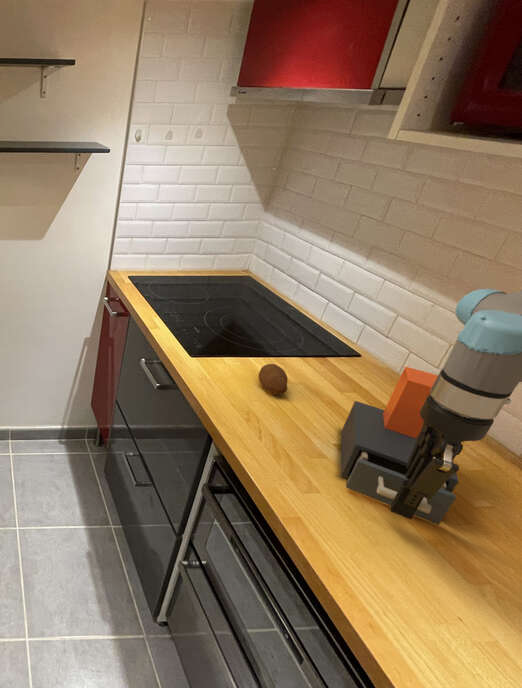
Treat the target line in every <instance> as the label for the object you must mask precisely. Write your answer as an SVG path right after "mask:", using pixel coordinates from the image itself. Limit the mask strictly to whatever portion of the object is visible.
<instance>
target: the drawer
mask: <svg viewBox="0 0 522 688" xmlns="http://www.w3.org/2000/svg"><path fill="white" fill-rule="evenodd" d="M407 471H408V469H406V466H404V465H402V464H399V463H396V462H393V461H390V460H388V459H385V458H382V457H379V456H377V455H374V454H371V453H368V452H366V451H363V450H360V451H359V453H358V455H357V457H356V459H355V461H354V463H353V465H352V467H351V474H350V477H349V479H347V481H346V483H345V488H346V489H348V490H351V491H354V492H356V493H358V494H360V495H363V496H365V497H368V498H370V499H373V500H376V501H378V502H380V503H382V504H385V505H388V506H390V505H391V503H392V502H393V500H394V498H395V496H396V494H397V493H398V491H399V489H400V487H401V485H402V481H403V480H407V478H406V476H405V474H406V473H407ZM445 489H446V483H444V484H443V486H442V487H441V488H440V489H439V490H438V492H437V493H436V494H435V495H434V496H433V497H432V499H431V500H430V499H427V498H423V500H422V501H421V503H420V505H419V507H418V508H417V510H416V512H415V513H414V515H413V516H414V517H417V518H420V519H423V520H424V521H428V522H430V523H432V524H435V525H437V526H439V525H440V524H441V522H443V519H444V518H445V516H446V514H447V513H448V511H449V509H450V508H451V507H452V505H453V504H454V502H455V500H456V499H457V497H456V494H455V493H454V492H452V493H451V492H449V491H446V490H445Z"/></svg>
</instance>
